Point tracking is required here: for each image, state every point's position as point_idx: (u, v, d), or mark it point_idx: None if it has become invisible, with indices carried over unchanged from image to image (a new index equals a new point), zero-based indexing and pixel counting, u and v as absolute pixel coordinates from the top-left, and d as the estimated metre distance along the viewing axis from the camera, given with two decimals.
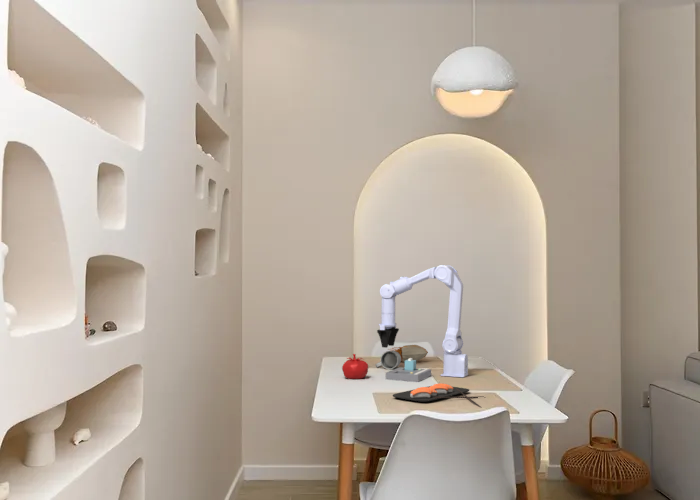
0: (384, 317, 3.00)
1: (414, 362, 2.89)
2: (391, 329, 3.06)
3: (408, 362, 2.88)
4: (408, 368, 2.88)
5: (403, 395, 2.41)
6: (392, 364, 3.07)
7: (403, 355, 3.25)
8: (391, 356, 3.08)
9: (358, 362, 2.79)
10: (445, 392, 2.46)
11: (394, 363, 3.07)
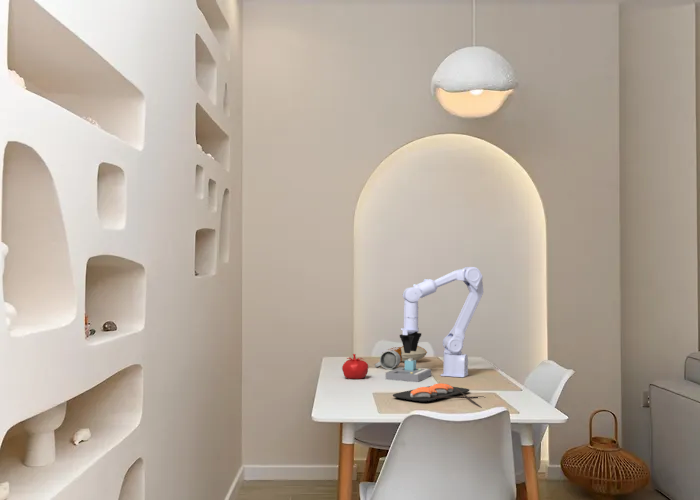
0: (406, 321, 2.88)
1: (414, 362, 2.89)
2: (413, 334, 2.93)
3: (408, 362, 2.88)
4: (408, 368, 2.88)
5: (403, 395, 2.41)
6: (391, 364, 3.08)
7: (402, 355, 3.25)
8: (390, 356, 3.08)
9: (358, 362, 2.79)
10: (445, 392, 2.46)
11: (393, 363, 3.08)
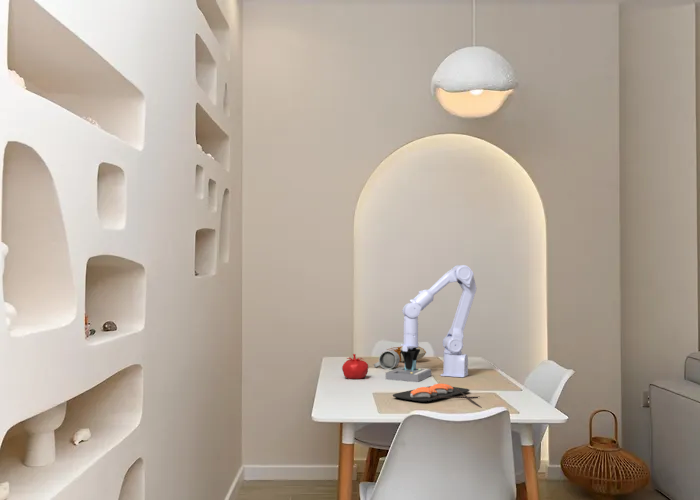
0: (406, 337, 2.88)
1: (414, 362, 2.89)
2: (412, 350, 2.92)
3: None
4: None
5: (403, 395, 2.41)
6: (390, 364, 3.08)
7: (402, 355, 3.26)
8: (389, 356, 3.08)
9: (358, 362, 2.79)
10: (445, 392, 2.46)
11: (392, 363, 3.08)
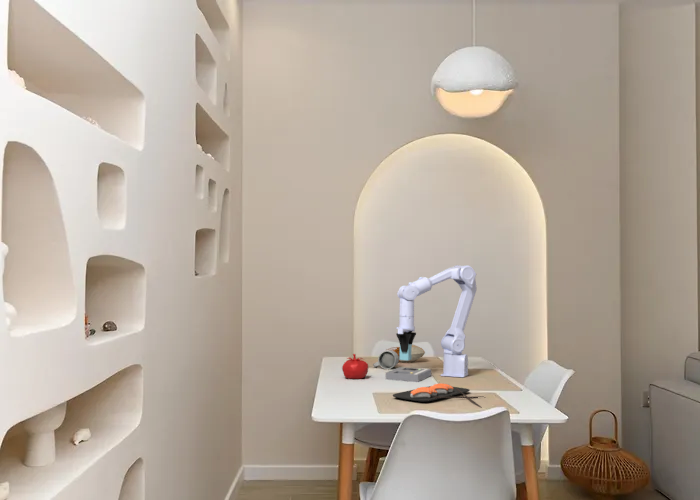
0: (402, 320, 2.83)
1: (409, 346, 2.84)
2: (408, 333, 2.87)
3: None
4: None
5: (403, 395, 2.41)
6: (390, 364, 3.08)
7: None
8: (389, 356, 3.08)
9: (358, 362, 2.79)
10: (445, 392, 2.46)
11: (392, 363, 3.08)
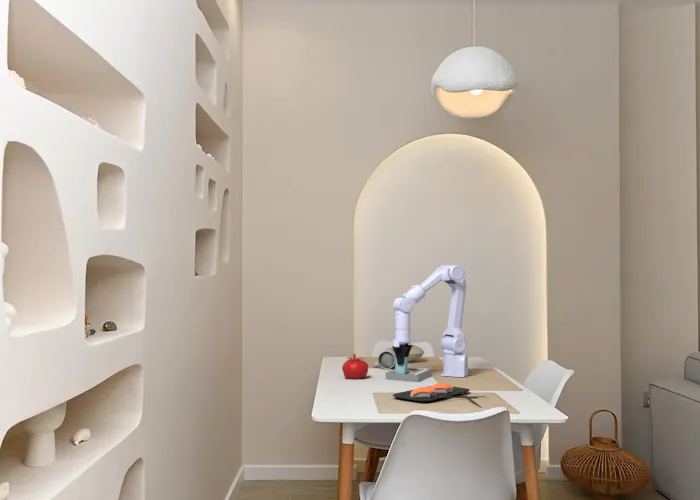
0: (398, 332, 2.79)
1: (405, 359, 2.80)
2: (404, 346, 2.83)
3: None
4: None
5: (403, 395, 2.41)
6: (389, 364, 3.08)
7: None
8: (388, 356, 3.08)
9: (358, 362, 2.79)
10: (445, 392, 2.46)
11: (391, 363, 3.08)
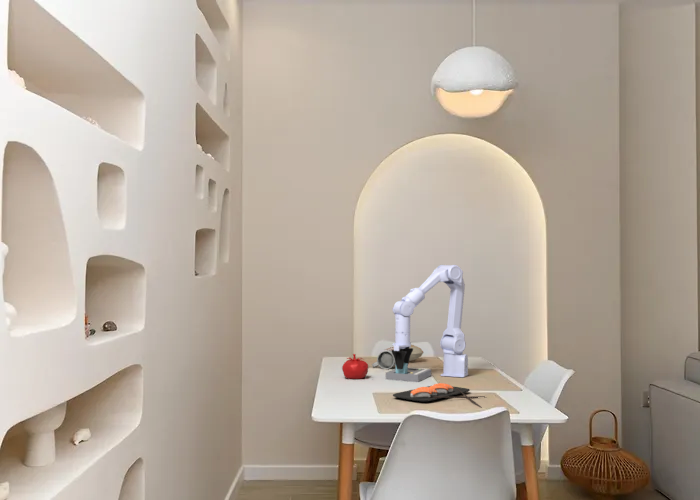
0: (398, 336, 2.79)
1: (405, 365, 2.80)
2: (405, 349, 2.83)
3: None
4: (399, 371, 2.79)
5: (403, 395, 2.41)
6: (389, 364, 3.08)
7: None
8: (387, 355, 3.08)
9: (358, 362, 2.79)
10: (445, 392, 2.46)
11: (391, 363, 3.08)
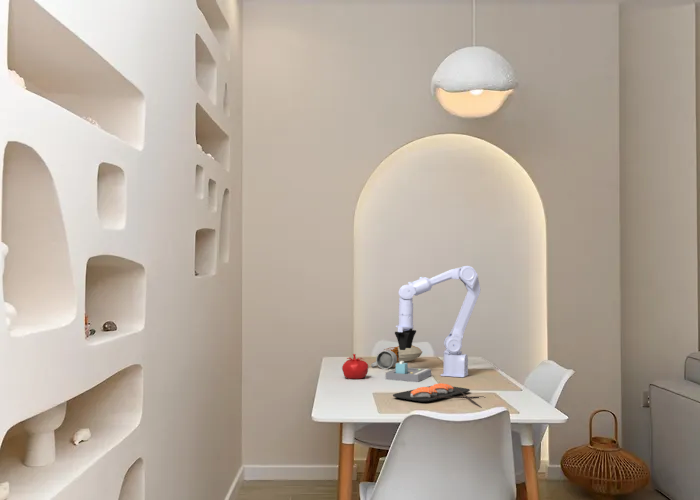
0: (401, 318, 2.90)
1: (405, 365, 2.80)
2: (408, 331, 2.96)
3: (399, 365, 2.79)
4: (399, 371, 2.79)
5: (403, 395, 2.41)
6: (388, 364, 3.08)
7: (399, 355, 3.26)
8: (386, 355, 3.08)
9: (358, 362, 2.79)
10: (445, 392, 2.46)
11: (390, 363, 3.08)
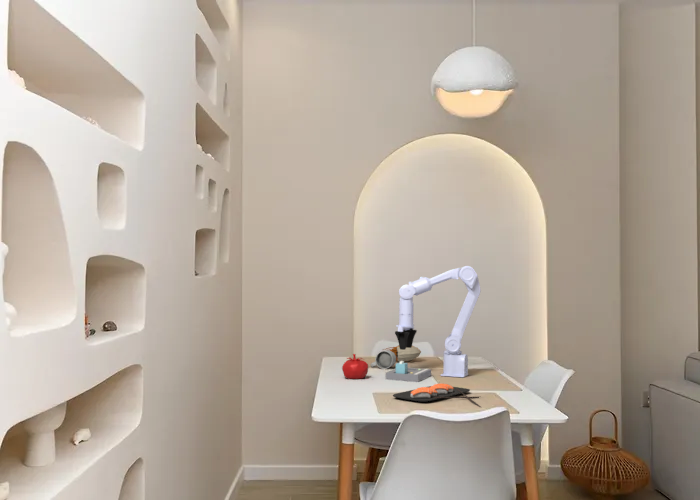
0: (402, 318, 2.92)
1: (405, 365, 2.80)
2: (409, 331, 2.97)
3: (399, 365, 2.79)
4: (399, 371, 2.79)
5: (403, 395, 2.41)
6: (387, 364, 3.08)
7: (399, 355, 3.26)
8: (386, 355, 3.08)
9: (358, 362, 2.79)
10: (445, 392, 2.46)
11: (389, 363, 3.08)
